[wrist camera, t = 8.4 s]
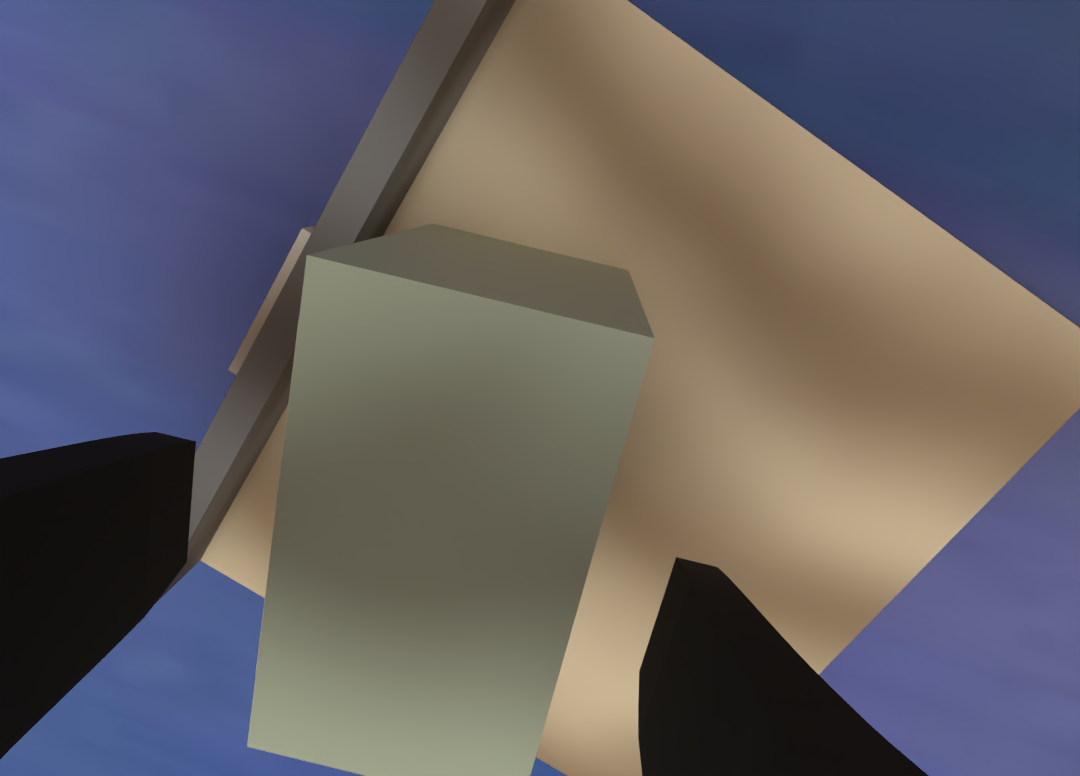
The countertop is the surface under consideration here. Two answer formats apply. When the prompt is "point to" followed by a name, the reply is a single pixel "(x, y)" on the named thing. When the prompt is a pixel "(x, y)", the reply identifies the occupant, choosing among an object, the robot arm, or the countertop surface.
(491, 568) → the carton
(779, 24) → the countertop surface
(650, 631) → the wooden serving tray
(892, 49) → the countertop surface
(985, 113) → the countertop surface
